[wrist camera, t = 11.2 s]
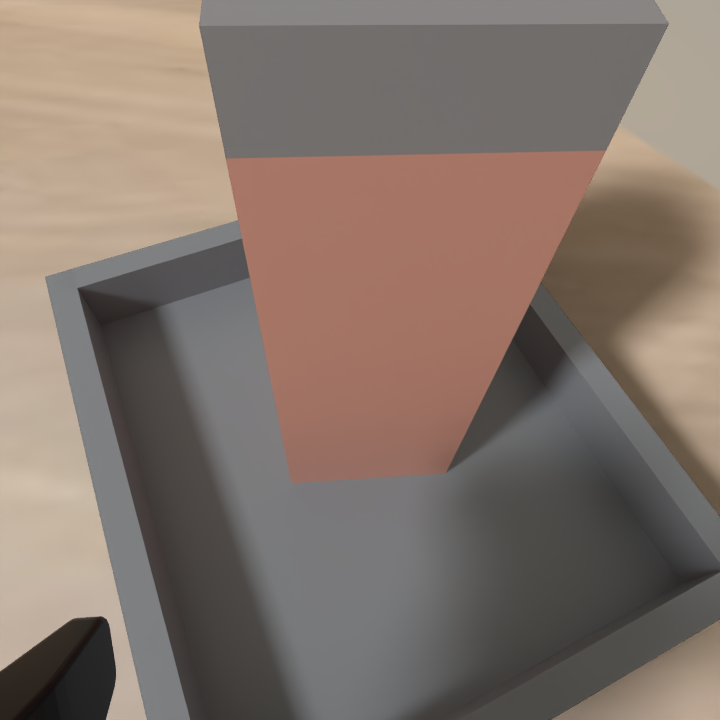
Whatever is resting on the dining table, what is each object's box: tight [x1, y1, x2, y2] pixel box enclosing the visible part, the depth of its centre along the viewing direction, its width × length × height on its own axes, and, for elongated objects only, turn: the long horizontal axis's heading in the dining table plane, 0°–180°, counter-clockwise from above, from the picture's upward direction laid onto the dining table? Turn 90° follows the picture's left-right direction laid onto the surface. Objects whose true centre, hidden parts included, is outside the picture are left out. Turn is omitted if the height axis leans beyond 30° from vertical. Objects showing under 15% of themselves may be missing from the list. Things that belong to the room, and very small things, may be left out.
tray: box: [45, 221, 720, 720], centre depth 17 cm, size 16×14×3 cm
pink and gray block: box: [199, 0, 669, 483], centre depth 12 cm, size 4×4×13 cm
